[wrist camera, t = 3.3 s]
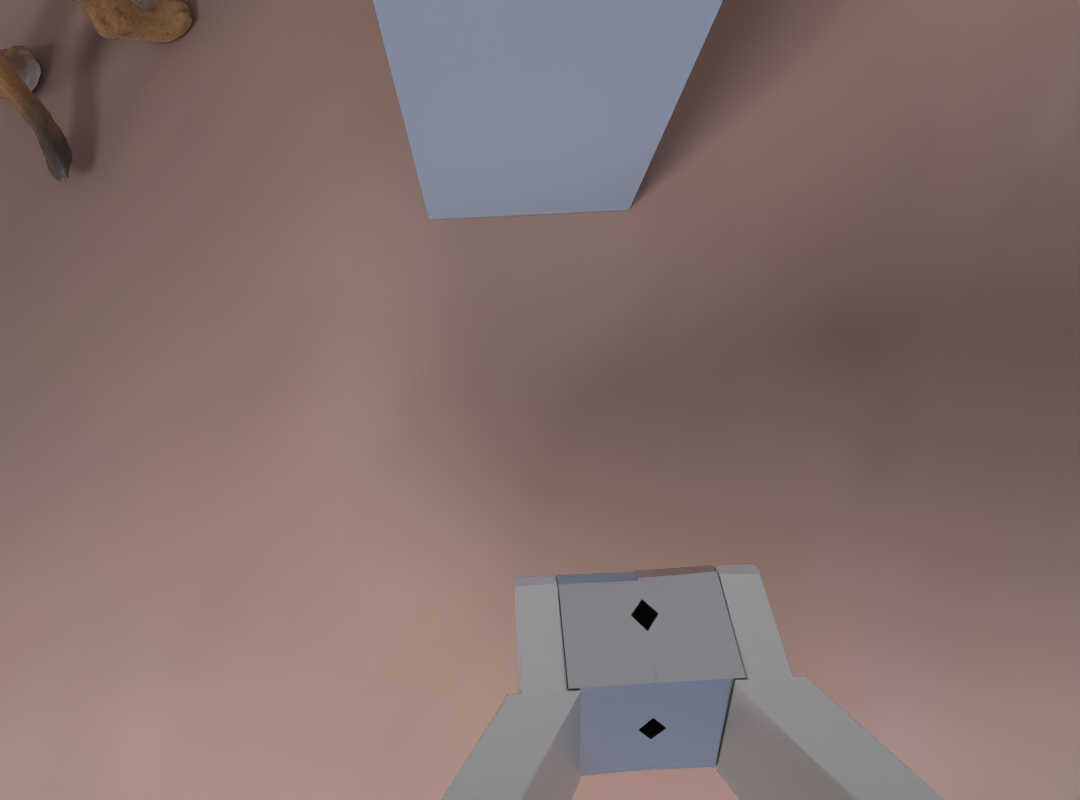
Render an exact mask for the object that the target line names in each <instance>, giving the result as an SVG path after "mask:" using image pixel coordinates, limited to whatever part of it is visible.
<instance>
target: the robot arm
mask: <svg viewBox="0 0 1080 800" xmlns="http://www.w3.org/2000/svg"><path fill="white" fill-rule="evenodd" d="M515 606H516V628H517V649H518V671H519V692H520V694H510V695H507V696H506V698H505V700H504V701H503V703H502V704H501V706H500V708H499V709H498V711H497V712H496V714H495V715H494V717H493V719H492V720H491V722H490V723H489V725H488V727H487V728H486V730H485V731H484V733H483V734H482V736H481V738H480V739H479V741H478V742H477V744H476V746H475V747H474V749H473V750H472V752H471V754H470V755H469V757H468V758H467V760H466V761H465V763H464V765H463V766H462V768H461V769H460V771H459V773H458V774H457V776H456V777H455V779H454V780H453V782H452V784H451V785H450V787H449V788H448V790H447V792H446V793H445V795H444V796H443V798H442V799H441V800H571V798H572V796H573V794H574V792H575V790H576V788H577V785H578V783H579V781H580V776H584V775H595V774H606V773H617V772H627V771H638V770H652V769H678V768H704V767H717V772H718V773H719V774H720V775H721V776H722V778H723V779H724V780H725V781H726V783H727V784H728V785H729V786H730V788H731V789H732V790H733V791H734V793H735V794H736V795H737V796H738V798H739V799H740V800H944V799H943V798H942V797H940V796H939V795H938V794H937V793H936V792H935V791H934V790H933V789H931V788H930V787H929V786H928V785H927V784H926V783H925V782H924V781H923V780H921V779H920V778H919V777H918V776H917V775H916V774H915V773H914V772H913V771H911V770H910V769H909V768H908V767H907V766H906V765H905V764H904V763H902V762H901V761H900V760H899V759H898V758H897V757H896V756H895V755H894V754H892V753H891V752H890V751H889V750H888V749H887V748H886V747H885V746H884V745H882V744H881V743H880V742H879V741H878V740H877V739H876V738H875V737H874V736H872V735H871V734H870V733H869V732H868V731H867V730H866V729H865V728H863V727H862V726H861V725H860V724H859V723H858V722H857V721H856V720H855V719H853V718H852V717H851V716H850V715H849V714H848V713H847V712H846V711H845V710H843V709H842V708H841V707H840V706H839V705H838V704H837V703H836V702H834V701H833V700H832V699H831V698H830V697H829V696H828V695H827V694H826V693H824V692H823V691H822V690H821V689H820V688H819V687H818V686H817V685H816V684H814V683H813V682H812V681H811V680H810V679H809V678H808V677H807V676H794V675H793V672H792V668H791V665H790V662H789V659H788V656H787V653H786V650H785V647H784V644H783V641H782V638H781V635H780V632H779V629H778V625H777V622H776V619H775V616H774V613H773V610H772V607H771V604H770V601H769V598H768V595H767V592H766V589H765V586H764V583H763V579H762V576H761V573H760V570H759V569H758V568H757V567H756V566H755V565H754V564H742V565H725V566H714V567H712V566H697V567H683V568H669V569H655V570H641V571H634V572H633V573H601V574H570V575H557V576H555V575H548V576H526V577H516V579H515Z"/></svg>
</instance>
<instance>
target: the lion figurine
mask: <svg viewBox="0 0 1080 800" xmlns="http://www.w3.org/2000/svg"><path fill="white" fill-rule="evenodd" d="M73 1H75V2H77V3H78V4H79V5H80V6H81V7H82V8H83V9H84V10H85V11H86V13H87V15H88V16H89V18H90V21H91V23H92V25H93V27H94V29H95V30H96V32H97V33H98V34H99V35H101V36H103V37H105V38H110V39H132V40H142V41H148V42H155V43H165V42H170V41H172V40H175V39H177V38H178V37H180V36H181V35H183V34H184V33H185V32H186V31H187V30H188V29H189V27H190V25H191V22H192V17H191V12H190V9H189V7H188V5H187V3H186V2H184V1H183V0H144V1H143V2H142V4H141V5H140V7H138V6H136V5H135V4H133V3H132V2H131V1H130V0H73ZM40 74H41V69H40V65H39V64H38V62H37V61H36V60H35V59H34V58H33V56H32V55H31V53H30V52H29V51H28V50H27V49H25V48H24V47H22V46H13V47H11V48H8V49H2V50H0V97H3V98H8V99H9V100H10V101H11V102H12V104H13V105H14V106H15V107H16V109H17V110H18V111H19V112H20V113H21V115H22V116H23V117H24V119H25V120H26V122H27V123H28V124H29V125H30V126H31V127H32V129H33V130H34V132H35V134H36V136H37V137H38V140H39V144H40V146H41V149H42V150H43V154H44V156H45V158H46V162H47V166H48V169H49V171H50V172H51V174H52V176H53V177H54V178H55V179H56V180H62V181H65V180H66V179H68V176H69V175H68V173H69V169H70V165H71V162H72V153H71V150H70V148H69V146H68V143H67V140H66V138H65V136H64V135H63V133H62V131H61V129H60V128H59V127H58V125H57V124H56V123H55V121H54V120H53V118H52V116H51V114H50V113H49V111H48V110H47V109H46V108H45V107H44V105H43V104H42V103H41V102H40V101H39V100H38V99H37V98H36V96H35V95H34V94H33V93H32V91H33V90H34V88H35V87H36V85H37V84H38V81H39V78H40Z"/></svg>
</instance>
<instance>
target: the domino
mask: <svg viewBox="0 0 1080 800" xmlns="http://www.w3.org/2000/svg"><path fill="white" fill-rule="evenodd" d="M722 2H723V0H373V4H374V8H375V12H376V15H377V19H378V23H379V27H380V31H381V35H382V39H383V43H384V47H385V51H386V54H387V58H388V62H389V66H390V70H391V74H392V78H393V82H394V86H395V89H396V93H397V97H398V101H399V105H400V109H401V113H402V117H403V121H404V124H405V128H406V132H407V136H408V140H409V144H410V148H411V152H412V156H413V160H414V163H415V167H416V171H417V175H418V179H419V183H420V187H421V191H422V195H423V198H424V202H425V206H426V210H427V214H428V218H429V220H433V219H454V218H474V217H495V216H516V215H537V214H558V213H579V212H599V211H620V210H629V209H630V207H631V204H632V202H633V200H634V198H635V195H636V193H637V191H638V189H639V187H640V184H641V182H642V180H643V178H644V175H645V173H646V171H647V169H648V166H649V164H650V162H651V160H652V158H653V155H654V153H655V151H656V149H657V146H658V144H659V142H660V140H661V138H662V135H663V133H664V131H665V129H666V126H667V124H668V122H669V120H670V117H671V115H672V113H673V111H674V109H675V106H676V104H677V102H678V100H679V97H680V95H681V93H682V91H683V89H684V86H685V84H686V82H687V80H688V77H689V75H690V73H691V71H692V68H693V66H694V64H695V62H696V60H697V57H698V55H699V53H700V51H701V48H702V46H703V44H704V42H705V39H706V37H707V35H708V33H709V31H710V28H711V26H712V24H713V22H714V19H715V17H716V15H717V13H718V11H719V8H720V6H721V4H722Z"/></svg>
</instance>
